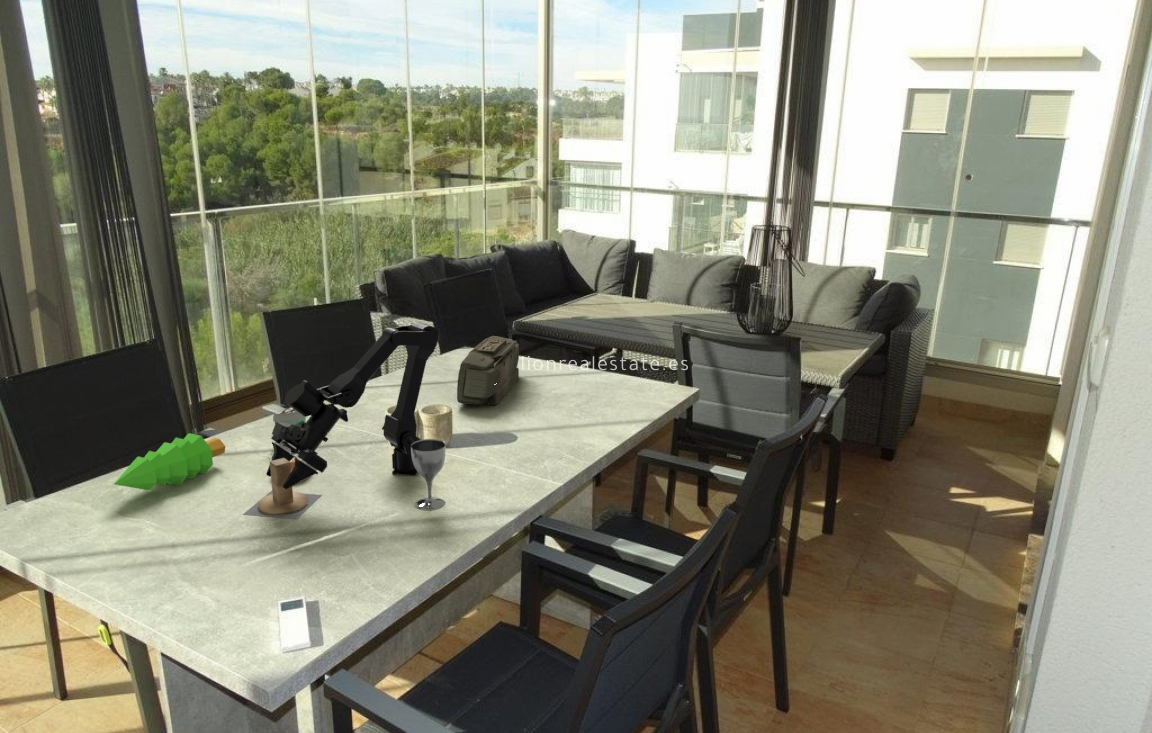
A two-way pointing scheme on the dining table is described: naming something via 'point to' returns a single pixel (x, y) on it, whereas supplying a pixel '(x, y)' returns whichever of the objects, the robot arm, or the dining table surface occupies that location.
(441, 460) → the wine glass
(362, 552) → the dining table surface
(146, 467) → the decorative tree
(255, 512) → the rubber mat
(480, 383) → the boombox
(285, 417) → the food container
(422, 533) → the dining table surface
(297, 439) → the robot arm
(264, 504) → the walnut lid
